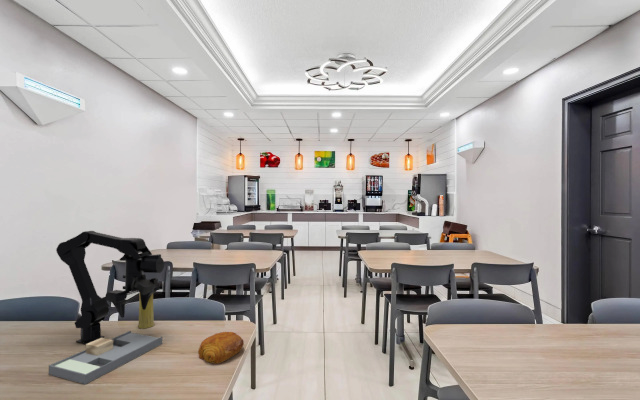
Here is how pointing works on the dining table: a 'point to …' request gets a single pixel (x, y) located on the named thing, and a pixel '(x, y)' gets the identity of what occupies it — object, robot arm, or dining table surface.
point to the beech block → (99, 346)
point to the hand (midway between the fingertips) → (133, 313)
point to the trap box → (104, 358)
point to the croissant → (220, 347)
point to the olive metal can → (146, 314)
